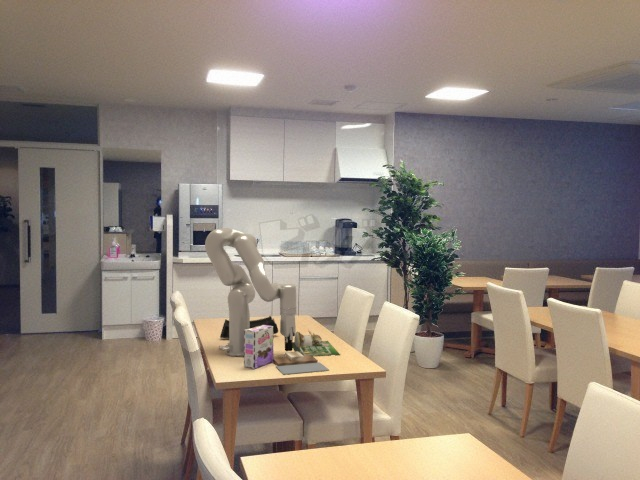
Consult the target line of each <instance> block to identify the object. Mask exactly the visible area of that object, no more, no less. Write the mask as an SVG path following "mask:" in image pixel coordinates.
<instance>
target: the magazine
mask: <svg viewBox="0 0 640 480" xmlns="http://www.w3.org/2000/svg"><path fill="white" fill-rule="evenodd" d="M261 325H268V326H273V335H276V334H278V333H279V328H278V325H277V322H276V321H275V318H274V317H272V316H271V315H269V316H268V317H264V318H260V319H253V320H250V328H254V327H258V326H261ZM219 338H220V339H229V319H228V320H227V318H226V319H224V322H223V325H222V328H221V332H220V336H219Z"/></svg>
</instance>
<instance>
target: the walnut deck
mask: <svg viewBox="0 0 640 480" xmlns="http://www.w3.org/2000/svg"><path fill="white" fill-rule="evenodd" d="M303 356H304V361H295V362H291V361H289V360H288V359H287V358H286V357H285V356H280V357H279V356H278V357H273V362H272V363H273V364H275V366H285V365H296V364H308V363H319V361H318V359H317V358H315V356H311V355H303Z"/></svg>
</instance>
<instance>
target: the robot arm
mask: <svg viewBox="0 0 640 480" xmlns="http://www.w3.org/2000/svg"><path fill="white" fill-rule="evenodd" d="M204 243H205V244H204V250H205V253H206V255H207V257H208V259H209V260H210V262H211V264H212V266H213V268H214V270H215V273H216V274H217V276H218V279H219V280H220V282H221V283H222V285H224V286H226V287H230V286H231V287H232V289H231V290H229V292H228V294H227V304H228V316H229V317H228V320H229V338H228V342H227V344H225V345H219V346H218V350H219V351H225V354H226V355H227V356H231V357H244V330H246V329H250V321H251V320H250V317H251V316H250V315H251V313H250V307H249V304H250V303H251V302H253V301H254V299H255V297H256V293H257V295H258V296H259V298H260V299H262V300H263V302H266V303H270V302H273V301H275V300H277V299H279V315H280V323H279V332H280V335H281V336H284V351H285V352H293V348H292V342H293V340H294V337H295V334H296V332H297V331H296V330H297V329H296V327H297V326H296V317H295V316H296V315H297V286H296V285H295V284H292V283H286V284H285V283H283V284H282V283H277V282H272V283H271V282H270V281H269V279H268V277H267V275H266V270H265V261H264V258H263V256H262V254H260V251H259V250H258V248H257V246H258V242H257V239H256V237H255V236H254V235H252V234H250V233H246V232H243V231H240V230H236V229H233V228H231V227H230V228H229V227H223V228H216V229H213V230H211V231H210V233H209V234H208V235H207V236H206V238H205V242H204ZM224 247H230V248H234V249H235V251H236V252H237V254H238V256H239V258H240V259H241V260H242V262H243V264H244V266H245V267H246V269H247V270H248V273H249V274H247V272H246V270H245V269H244V267H242V266H241V265H239V264H236V263H233V262H232V259H231V257H230V255H229V254H228V253H227V252H226V250H225V248H224ZM249 277H250V278H249Z"/></svg>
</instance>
